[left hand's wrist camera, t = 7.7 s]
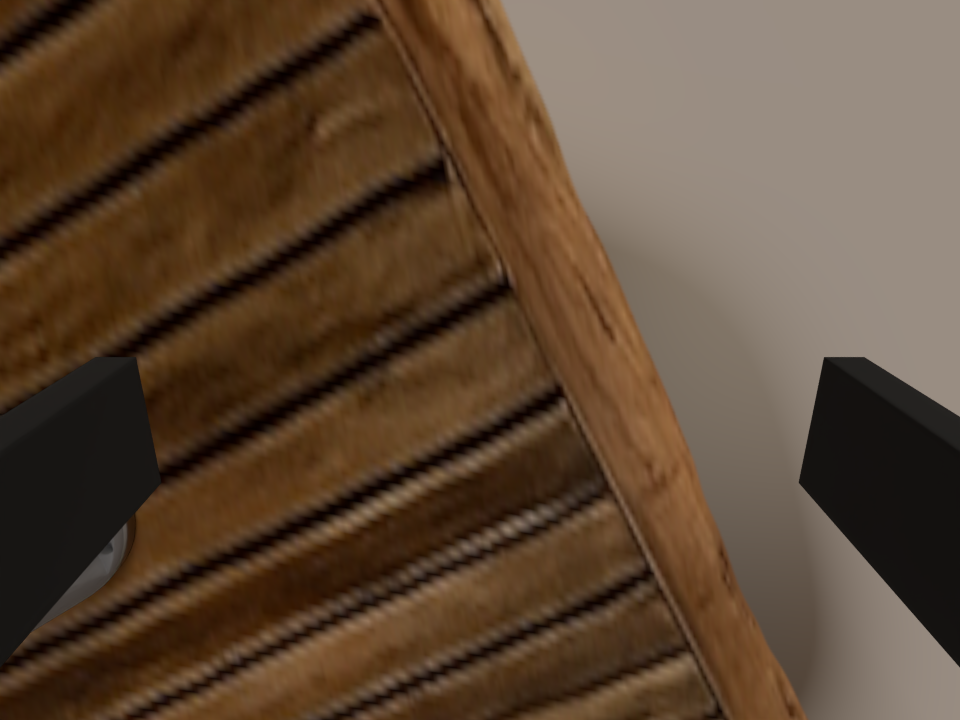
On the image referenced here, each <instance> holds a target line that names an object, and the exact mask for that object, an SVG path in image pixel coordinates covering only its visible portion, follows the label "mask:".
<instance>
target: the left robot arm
mask: <svg viewBox="0 0 960 720" xmlns="http://www.w3.org/2000/svg"><path fill="white" fill-rule="evenodd" d="M160 484H161V479H160V474H159V469H158V464H157V459H156V454H155V449H154V444H153V439H152V434H151V429H150V425H149V420H148V415H147V410H146V405H145V400H144V395H143V390H142V385H141V380H140V375H139V370H138V365H137V360H136V357H95V358H94V359H92V360H90V361H89V362H87V363H86V364H84V365H82V366H81V367H79V368H78V369H76V370H74V371H73V372H71V373H70V374H68V375H66V376H65V377H63V378H62V379H60V380H58V381H57V382H55V383H54V384H52V385H50V386H49V387H47V388H46V389H44V390H42V391H41V392H39V393H38V394H36V395H34V396H33V397H31V398H30V399H28V400H26V401H25V402H23V403H22V404H20V405H18V406H17V407H15V408H14V409H12V410H10V411H9V412H7V413H6V414H2V415H0V667H1V666H2V665H3V664H4V662H5V661H6V660H7V659H8V658H9V657H10V655H11V654H12V653H13V652H14V651H15V650H16V649H17V647H18V646H19V645H20V644H21V643H22V642H23V641H24V639H25V638H26V637H27V636H28V635H29V634H30V633H31V632H32V631H34V630H35V629H37V628H39V627H40V626H42V625H44V624H45V623H47V622H49V621H50V620H52V619H54V618H55V617H57V616H58V615H60V614H62V613H63V612H65V611H67V610H68V609H70V608H72V607H73V606H75V605H77V604H78V603H80V602H82V601H83V600H85V599H86V598H88V597H89V596H91V595H92V594H94V593H95V592H96V591H97V590H99V589H100V588H101V587H103V586H104V585H105V584H106V583H107V582H108V581H109V580H110V579H111V577H112V576H113V575H114V574H115V572H116V571H117V570H118V569H119V567H120V566H121V565H122V563H123V562H124V561H125V559H126V558H127V556H128V554H129V552H130V549H131V547H132V544H133V540H134V535H135V516H134V513H135V512H136V511H137V510H138V509H139V508H140V506H141V505H142V504H143V503H144V502H145V501H146V500H147V498H148V497H149V496H150V495H151V494H152V493H153V492H154V490H155V489H156V488H157V487H158V486H159V485H160ZM799 484H800V485H801V486H802V487H803V488H804V489H805V490H806V492H807V493H808V494H809V495H810V496H811V497H812V498H813V500H814V501H815V502H816V503H817V504H818V505H819V506H820V508H821V509H822V510H823V511H824V512H825V513H826V515H827V516H828V517H829V518H830V519H831V520H832V521H833V522H834V524H835V525H836V526H837V527H838V528H839V529H840V531H841V532H842V533H843V534H844V535H845V536H846V537H847V539H848V540H849V541H850V542H851V543H852V544H853V545H854V547H855V548H856V549H857V550H858V551H859V552H860V553H861V555H862V556H863V557H864V558H865V559H866V560H867V561H868V563H869V564H870V565H871V566H872V567H873V568H874V570H875V571H876V572H877V573H878V574H879V575H880V576H881V578H882V579H883V580H884V581H885V582H886V583H887V584H888V585H889V587H890V588H891V589H892V590H893V591H894V592H895V594H896V595H897V596H898V597H899V598H900V599H901V600H902V602H903V603H904V604H905V605H906V606H907V607H908V609H909V610H910V611H911V612H912V613H913V614H914V615H915V616H916V618H917V619H918V620H919V621H920V622H921V623H922V624H923V626H924V627H925V628H926V629H927V630H928V631H929V632H930V634H931V635H932V636H933V637H934V638H935V639H936V641H937V642H938V643H939V644H940V645H941V646H942V647H943V649H944V650H945V651H946V652H947V653H948V654H949V655H950V657H951V658H952V659H953V660H954V661H955V662H956V664H957V665H958V666H959V667H960V417H959V416H958V415H956V414H954V413H953V412H951V411H950V410H948V409H946V408H945V407H943V406H942V405H940V404H938V403H937V402H935V401H934V400H932V399H930V398H929V397H927V396H926V395H924V394H922V393H921V392H919V391H918V390H916V389H914V388H913V387H911V386H910V385H908V384H906V383H905V382H903V381H902V380H900V379H898V378H897V377H895V376H894V375H892V374H890V373H889V372H887V371H886V370H884V369H882V368H881V367H879V366H877V365H876V364H874V363H873V362H871V361H869V360H868V359H866V358H865V357H824V360H823V365H822V370H821V375H820V380H819V385H818V390H817V395H816V400H815V405H814V410H813V415H812V420H811V425H810V429H809V434H808V439H807V444H806V449H805V454H804V459H803V464H802V469H801V474H800V479H799Z"/></svg>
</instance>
